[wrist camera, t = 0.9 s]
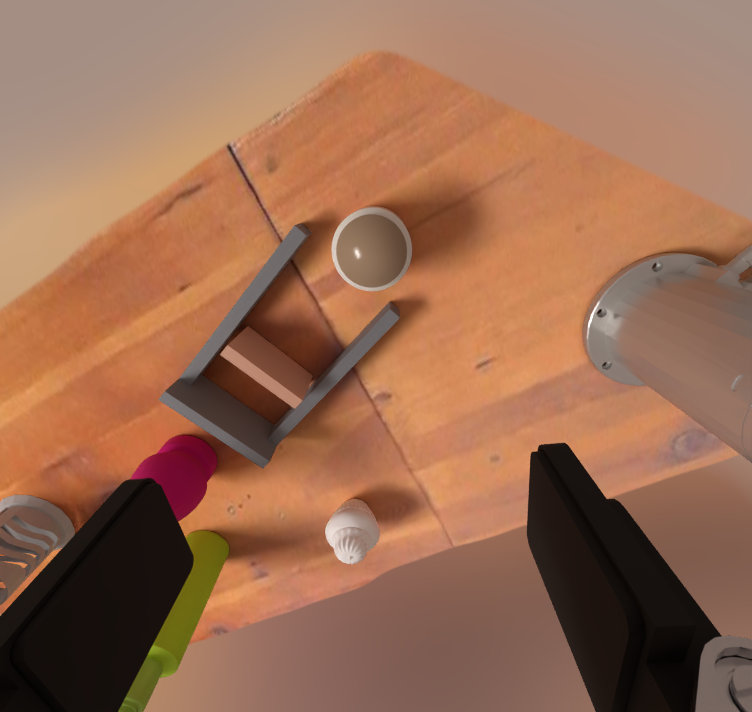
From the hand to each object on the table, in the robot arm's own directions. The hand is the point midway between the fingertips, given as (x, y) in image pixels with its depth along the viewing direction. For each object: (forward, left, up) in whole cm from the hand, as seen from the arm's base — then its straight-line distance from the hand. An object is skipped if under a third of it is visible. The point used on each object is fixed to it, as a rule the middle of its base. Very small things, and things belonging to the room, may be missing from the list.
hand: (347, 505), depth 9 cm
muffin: (+23, +17, -27) cm, 39 cm away
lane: (+11, -2, -27) cm, 29 cm away
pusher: (+12, -2, -27) cm, 29 cm away
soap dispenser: (+42, +7, -27) cm, 50 cm away
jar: (-2, -2, -27) cm, 27 cm away
